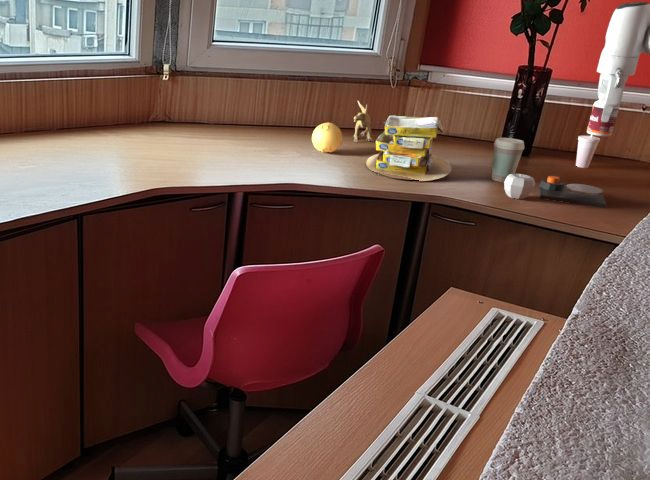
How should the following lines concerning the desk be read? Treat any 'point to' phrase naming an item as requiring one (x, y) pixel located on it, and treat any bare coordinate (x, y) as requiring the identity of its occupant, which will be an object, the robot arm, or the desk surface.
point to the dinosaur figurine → (362, 124)
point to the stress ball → (327, 137)
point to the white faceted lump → (518, 185)
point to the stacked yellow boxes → (409, 149)
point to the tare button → (553, 179)
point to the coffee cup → (506, 157)
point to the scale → (568, 195)
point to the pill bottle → (595, 122)
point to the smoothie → (586, 150)
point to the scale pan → (584, 189)
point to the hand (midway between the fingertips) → (602, 119)
